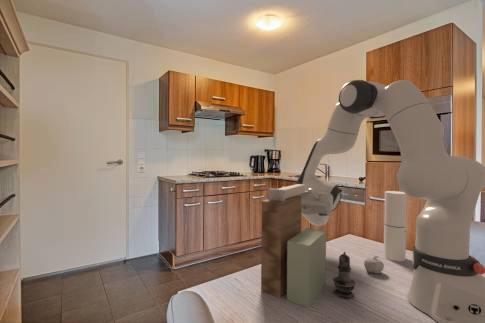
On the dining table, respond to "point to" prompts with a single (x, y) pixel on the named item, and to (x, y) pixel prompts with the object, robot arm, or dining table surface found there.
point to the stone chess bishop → (344, 279)
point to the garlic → (373, 265)
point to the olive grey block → (306, 266)
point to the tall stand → (277, 241)
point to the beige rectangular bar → (286, 192)
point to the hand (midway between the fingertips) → (296, 189)
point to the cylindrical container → (395, 225)
